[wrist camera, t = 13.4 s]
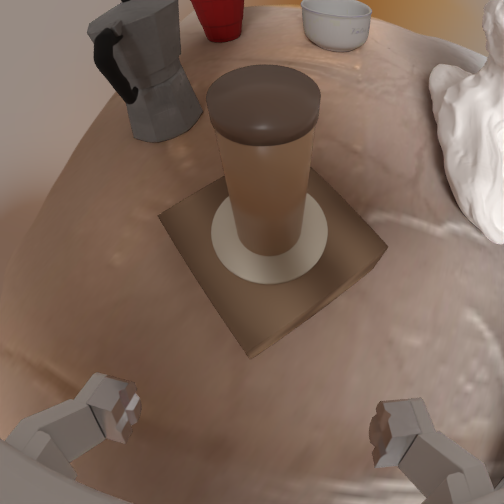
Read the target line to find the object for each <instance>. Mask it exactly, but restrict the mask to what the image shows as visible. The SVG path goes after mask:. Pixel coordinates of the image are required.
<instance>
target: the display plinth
mask: <svg viewBox="0 0 504 504" xmlns="http://www.w3.org/2000/svg"><path fill="white" fill-rule="evenodd" d="M158 217H159V219H160V221H161V223H162V224H163V226H164V228H165V229H166V231H167V233H168V234H169V236H170V238H171V239H172V241H173V242H174V244H175V246H176V247H177V249H178V251H179V252H180V254H181V256H182V257H183V259H184V260H185V262H186V264H187V265H188V267H189V268H190V270H191V272H192V273H193V275H194V276H195V278H196V279H197V281H198V283H199V284H200V286H201V287H202V289H203V290H204V292H205V293H206V295H207V296H208V298H209V300H210V301H211V303H212V304H213V306H214V307H215V309H216V310H217V312H218V313H219V315H220V316H221V318H222V319H223V321H224V322H225V324H226V325H227V327H228V328H229V330H230V331H231V333H232V334H233V335H234V337H235V338H236V340H237V341H238V343H239V344H240V346H241V347H242V349H243V350H244V351H245V353H246V354H247V356H248V357H249V358H250V359H252V358H253V357H255V356H256V355H258V354H259V353H261V352H262V351H264V350H265V349H267V348H268V347H270V346H271V345H273V344H274V343H275V342H277V341H278V340H280V339H281V338H283V337H284V336H285V335H287V334H288V333H290V332H291V331H292V330H294V329H295V328H297V327H298V326H299V325H301V324H302V323H304V322H305V321H306V320H308V319H309V318H310V317H312V316H313V315H314V314H316V313H317V312H318V311H320V310H321V309H322V308H324V307H325V306H326V305H328V304H329V303H330V302H332V301H333V300H334V299H336V298H337V297H338V296H339V295H341V294H342V293H343V292H345V291H346V290H347V289H348V288H350V287H351V286H352V285H354V284H355V283H356V282H357V281H359V280H360V279H361V278H362V277H363V276H365V275H366V274H367V273H368V272H370V271H371V270H372V269H373V268H374V267H375V265H376V264H377V262H378V261H379V260H380V258H381V257H382V255H383V254H384V252H385V251H386V250H387V248H388V246H387V245H386V244H385V242H384V241H383V240H382V239H381V238H380V237H379V236H378V235H377V234H376V233H375V231H374V230H373V229H372V228H371V227H370V226H369V225H368V224H367V223H366V222H365V221H364V220H363V219H362V218H361V216H360V215H359V214H358V213H357V212H356V211H355V210H354V209H353V208H352V207H351V206H350V205H349V204H348V203H347V202H346V201H345V200H344V199H343V198H342V197H341V196H340V195H339V194H338V193H337V192H336V191H335V190H334V189H333V188H332V187H331V186H330V185H329V184H328V183H327V182H326V181H325V180H324V179H323V178H322V177H321V176H320V175H319V174H318V173H317V172H316V171H315V170H313V169H312V168H311V167H310V172H309V179H308V187H307V194H306V202H305V209H304V216H303V222H302V229H301V235H300V237H299V240H298V241H297V243H296V244H295V245H294V246H293V247H292V248H291V249H290V250H289V251H287V252H285V253H283V254H280V255H276V256H262V255H258V254H255V253H253V252H251V251H249V250H248V249H247V248H246V247H244V245H243V244H242V243H241V241H240V240H239V237H238V234H237V230H236V225H235V221H234V216H233V211H232V207H231V202H230V198H229V193H228V188H227V184H226V179H225V176H223V177H222V178H220V179H218V180H216V181H215V182H213V183H211V184H209V185H208V186H206V187H204V188H202V189H201V190H199V191H197V192H196V193H194V194H192V195H191V196H189V197H187V198H186V199H184V200H182V201H181V202H179V203H177V204H176V205H174V206H172V207H171V208H169V209H167V210H166V211H164V212H163V213H161V214H159V215H158Z"/></svg>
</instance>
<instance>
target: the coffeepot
mask: <svg viewBox="0 0 504 504" xmlns="http://www.w3.org/2000/svg"><path fill="white" fill-rule="evenodd" d="M121 1H122V3H120V4H119V5H117V6H115V7H114V8H112V9H111V10H109V11H108V12H106V13H104V14H103V15H101V16H100V17H98V18H97V19H95V20H94V21H92V22H91V23H90V24H89V27H88V31H87V34H88V35H89V37H90V38H91V40H92V41H93V43H94V62H95V64H96V66H97V68H98V69H99V71H100V72H101V73H102V74H103V75H104V76H105V77H106V79H107V80H108V81H109V82H110V84H111V85H112V86H113V88H114V89H115V90H116V91H117V93H118V94H119V95H120V96H121V97H122V98H123V100H124V101H125V102H126V106H127V110H128V115H129V119H130V123H131V127H132V132H133V136H134V138H136V139H139V140H142V141H146V142H161V141H166V140H169V139H172V138H175V137H177V136H179V135H181V134H183V133H184V132H186V131H188V130H189V129H190V128H191V127H192V126H193V125H194V124H195V123H196V122H197V120H198V119H199V116H200V114H201V113H202V112H203V110H202V108H201V106H200V104H199V102H198V99H197V97H196V95H195V93H194V91H193V89H192V87H191V85H190V82H189V80H188V78H187V76H186V74H185V72H184V70H183V67H182V65H181V64H180V60H179V55H180V54H181V45H180V28H179V9H178V0H121Z"/></svg>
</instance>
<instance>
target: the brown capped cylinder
mask: <svg viewBox="0 0 504 504" xmlns="http://www.w3.org/2000/svg"><path fill="white" fill-rule="evenodd" d="M320 98H321V95H320V90H319V88H318V86H317V84H316V83H315V82H314V81H313V80H312V79H311V78H310V77H308V76H307V75H305V74H304V73H302V72H300V71H297V70H295V69H292V68H288V67H284V66H278V65H253V66H247V67H243V68H239V69H236V70H233V71H231V72H228V73H226V74H224V75H223V76H221V77H220V78H218V79H217V80H216V81H215V82H214V83H213V84H212V85H211V86H210V88H209V89H208V92H207V96H206V102H207V106H208V111H209V116H210V120H211V123H212V125H213V127H214V129H215V132H216V137H217V142H218V147H219V151H220V156H221V161H222V165H223V170H224V175H225V179H226V184H227V188H228V193H229V198H230V202H231V207H232V211H233V216H234V221H235V225H236V230H237V234H238V237H239V240H240V241H241V243H242V244H243V245H244V247H246V248H247V249H248V250H249V251H251V252H253V253H255V254H258V255H262V256H276V255H280V254H283V253H285V252H287V251H289V250H290V249H291V248H292V247H293V246H294V245H295V244H296V243H297V241H298V240H299V237H300V235H301V229H302V222H303V216H304V209H305V202H306V194H307V187H308V179H309V172H310V164H311V156H312V148H313V139H314V130H315V125H316V123H317V120H318V116H319V107H320Z"/></svg>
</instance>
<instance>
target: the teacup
mask: <svg viewBox="0 0 504 504" xmlns="http://www.w3.org/2000/svg"><path fill="white" fill-rule="evenodd" d="M301 7H302V17H303V26H304V31H305V34H306V36H307V37H308V38H309V39H310V40H311V41H312V42H314V43H315V44H316V45H318V46H319V47H321V48H323V49H326V50H330V51H336V52H347V51H351V50H354V49H356V48H358V47H360V46H362V45H363V44H364V43H365V42H366V40H367V38H368V34H369V28H370V18H371V13H372V10H371V8H370V7H369V6H367V5H366V4H363V3H361V2H359V1H355V0H303V1H302V2H301Z"/></svg>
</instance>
